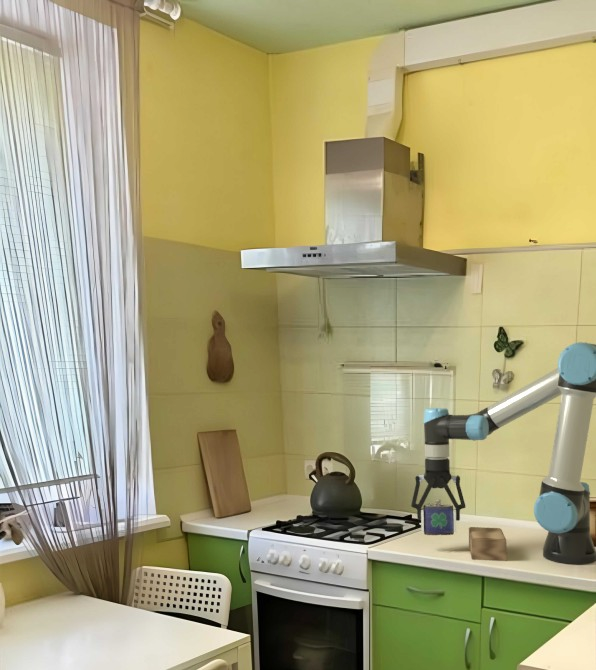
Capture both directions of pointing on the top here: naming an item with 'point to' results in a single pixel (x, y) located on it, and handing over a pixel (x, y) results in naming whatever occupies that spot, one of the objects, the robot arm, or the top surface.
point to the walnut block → (487, 544)
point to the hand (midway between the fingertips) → (438, 530)
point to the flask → (438, 519)
